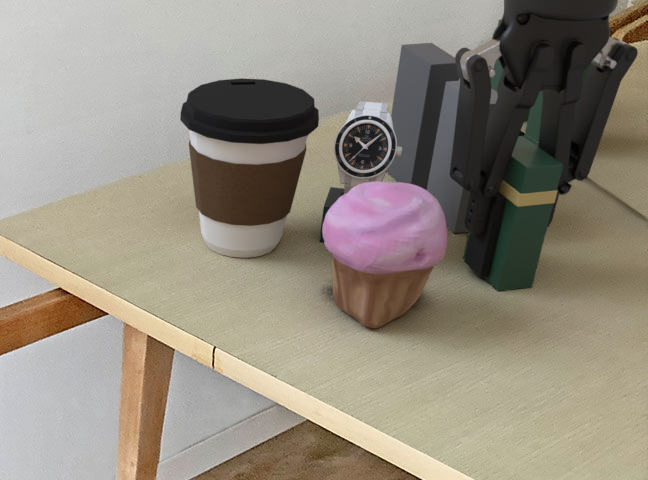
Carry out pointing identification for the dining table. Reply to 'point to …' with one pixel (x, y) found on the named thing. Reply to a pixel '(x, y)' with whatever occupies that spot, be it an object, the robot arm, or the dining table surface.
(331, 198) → the watch
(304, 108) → the coffee cup
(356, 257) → the cupcake
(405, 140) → the grey books
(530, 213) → the green tan-banded upright block
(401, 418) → the dining table surface
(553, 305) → the dining table surface
